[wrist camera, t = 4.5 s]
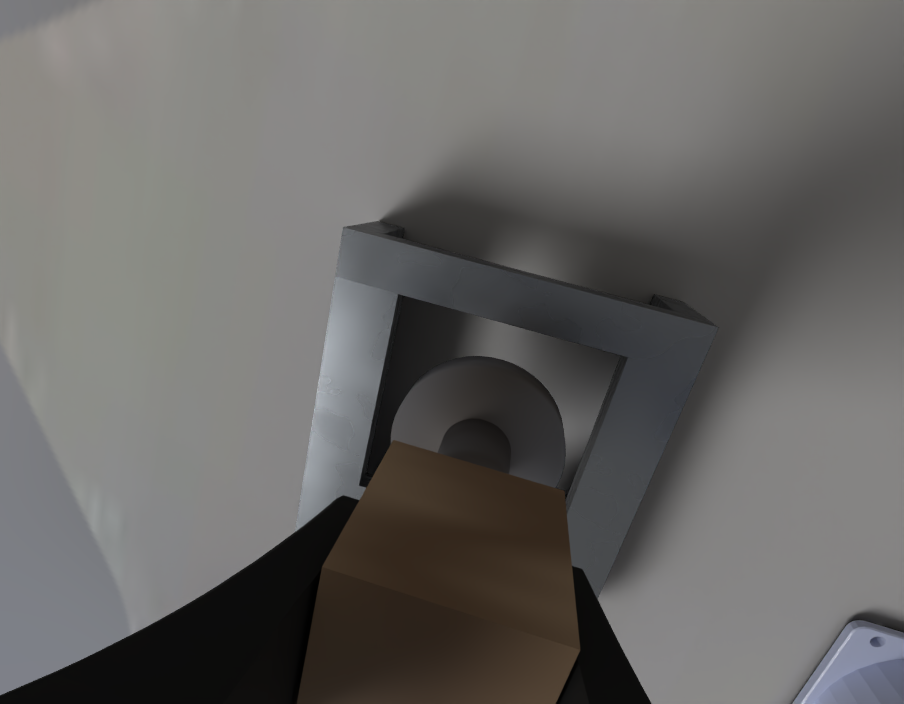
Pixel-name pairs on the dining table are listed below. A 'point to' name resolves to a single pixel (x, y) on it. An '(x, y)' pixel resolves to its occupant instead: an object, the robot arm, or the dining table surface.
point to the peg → (453, 554)
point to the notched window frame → (522, 305)
